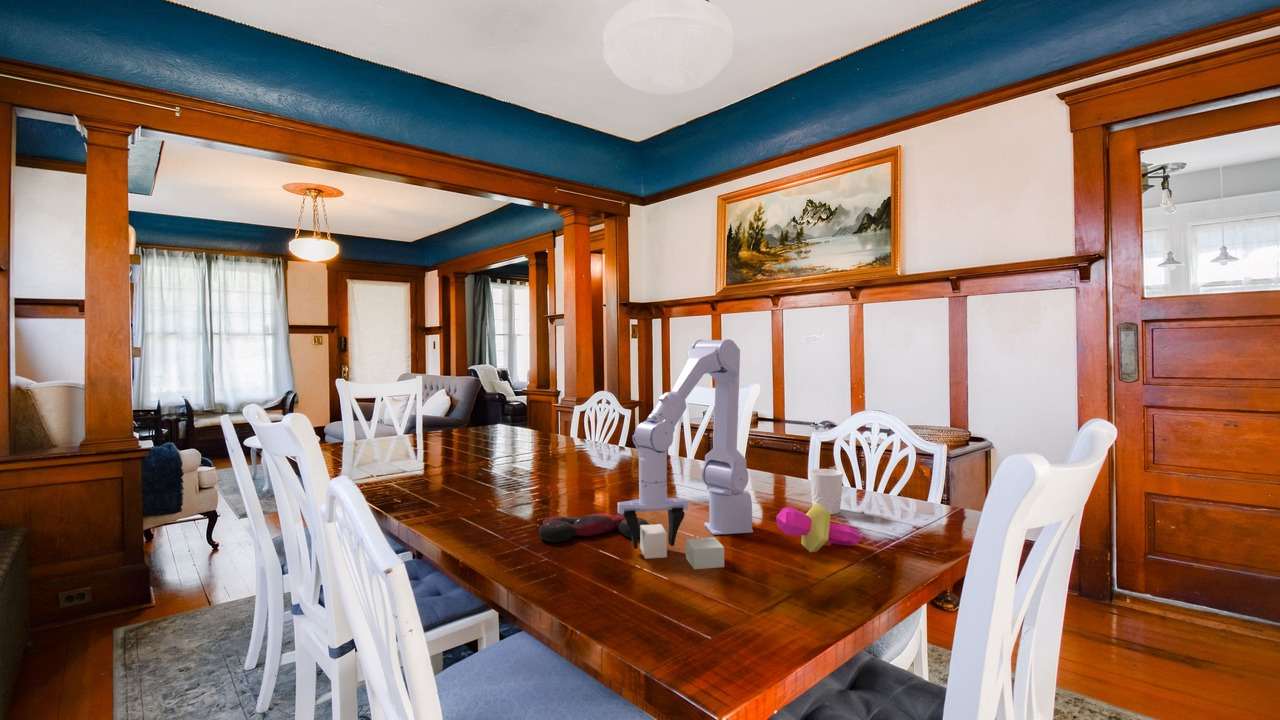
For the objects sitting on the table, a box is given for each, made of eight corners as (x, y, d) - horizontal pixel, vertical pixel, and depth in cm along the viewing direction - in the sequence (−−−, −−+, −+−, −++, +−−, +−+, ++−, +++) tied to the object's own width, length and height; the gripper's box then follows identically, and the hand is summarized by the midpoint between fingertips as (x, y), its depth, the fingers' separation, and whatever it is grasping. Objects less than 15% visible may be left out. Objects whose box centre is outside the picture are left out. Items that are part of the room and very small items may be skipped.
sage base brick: (714, 556, 118) (714, 537, 118) (724, 567, 112) (724, 547, 112) (685, 558, 117) (685, 539, 117) (694, 570, 111) (694, 549, 111)
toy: (867, 563, 116) (870, 511, 120) (782, 539, 115) (789, 488, 119) (842, 565, 125) (846, 517, 129) (763, 544, 124) (769, 496, 128)
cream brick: (661, 547, 124) (661, 524, 123) (667, 557, 118) (666, 533, 118) (640, 548, 123) (640, 525, 123) (644, 559, 117) (644, 534, 117)
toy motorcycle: (653, 545, 129) (642, 513, 144) (653, 523, 128) (642, 494, 144) (538, 555, 126) (540, 521, 141) (537, 532, 125) (539, 501, 140)
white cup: (849, 512, 148) (849, 473, 148) (827, 517, 144) (827, 476, 144) (825, 505, 155) (825, 467, 155) (803, 509, 151) (803, 470, 151)
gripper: (681, 474, 125) (682, 536, 126) (615, 477, 122) (615, 541, 123) (691, 481, 118) (691, 548, 119) (620, 485, 115) (621, 553, 116)
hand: (653, 545), depth 120 cm, fingers open, 7 cm apart
